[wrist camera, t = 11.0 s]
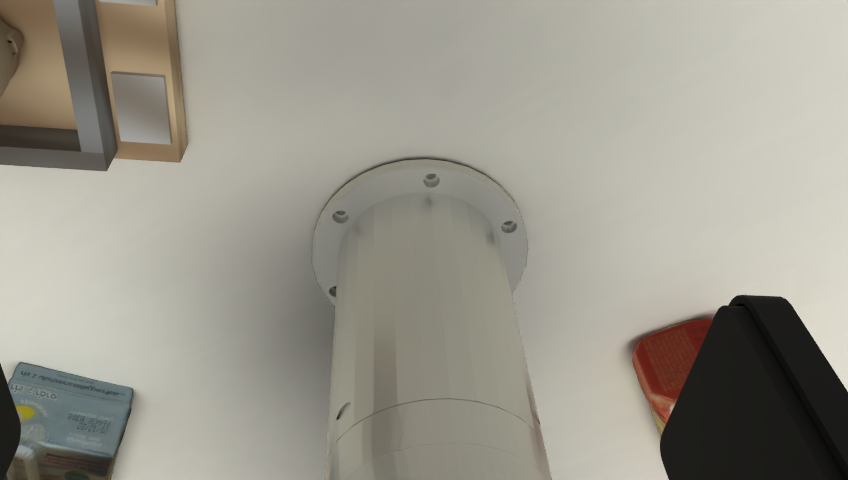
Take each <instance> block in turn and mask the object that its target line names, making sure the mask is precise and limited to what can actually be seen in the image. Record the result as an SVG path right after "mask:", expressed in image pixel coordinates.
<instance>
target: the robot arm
mask: <svg viewBox="0 0 848 480" xmlns="http://www.w3.org/2000/svg"><path fill="white" fill-rule="evenodd" d="M428 174H433V175H428ZM340 210H341V211H340ZM527 254H528V244H527V235H526V230H525V227H524V223H523V220H522V217H521V215H520V213H519V211H518V209H517V207H516V205H515V203H514V201H513V200H512V199H511V198H510V197H509V195H508V194H507V193H506V192H505V191H504V190H503V188H501V187H500V186H499V185H498V184H496V183H495V182H494V181H492V180H491V179H490V178H488V177H487V176H485V175H483V174H481V173H479V172H477V171H475V170H473V169H471V168H469V167H466V166H462V165H459V164H455V163H452V162H448V161H439V160H430V159H420V160H404V161H399V162H395V163H390V164H386V165H382V166H380V167H377V168H375V169H372V170H370V171H368V172H365V173H363V174H361V175H360V176H358V177H357V178H355V179H353V180H352V181H350V182H349V183H347V184H346V185H345V186H344V187H342V188H341V189H340V190H339V191H338V192H337V193H336V194H335V195H334V196H333V197H332V198H331V199H330V201H329V202H328V204H327V205H326V207H325V208H324V209H323V211H322V212H321V215H320V217H319V220H318V222H317V225H316V227H315V231H314V237H313V244H312V264H313V269H314V273H315V277H316V280H317V282H318V284H319V286H320V288H321V290H322V292H323V293H324V294H325V296H326V297H327V298H328V299H329V301H330V302H331V303H332V304H333V305H334V306H335V322H334V338H333V354H332V370H331V386H330V402H329V418H328V434H327V450H326V466H325V480H552V477H551V473H550V468H549V464H548V459H547V455H546V451H545V447H544V442H543V437H542V432H541V427H540V422H539V418H538V413H537V409H536V404H535V400H534V395H533V390H532V386H531V381H530V377H529V372H528V368H527V363H526V359H525V354H524V349H523V345H522V340H521V336H520V331H519V327H518V322H517V318H516V313H515V308H514V304H513V299H512V295H511V294H512V293H513V291H514V289H515V288H516V286H517V285H518V283H519V282H520V280H521V277H522V275H523V272H524V269H525V266H526V262H527ZM20 436H21V423H20V418H19V415H18V413H17V410H16V407H15V404H14V401H13V398H12V395H11V393H10V390H9V387H8V384H7V381H6V378H5V375H4V373H3V370H2V367H1V364H0V480H4V478H5V475H6V473H7V471H8V469H9V467H10V464H11V462H12V460H13V458H14V456H15V453H16V451H17V448H18V446H19V442H20ZM660 452H661V458H662V461H663V464H664V467H665V470H666V473H667V475H668V478H669V480H848V392H847V390H846V388H845V387H844V385H843V384H842V382H841V381H840V379H839V378H838V376H837V375H836V373H835V372H834V370H833V368H832V367H831V365H830V364H829V362H828V361H827V359H826V358H825V356H824V355H823V353H822V352H821V350H820V348H819V347H818V345H817V344H816V342H815V341H814V339H813V338H812V336H811V335H810V333H809V331H808V330H807V328H806V327H805V325H804V324H803V322H802V321H801V319H800V318H799V316H798V315H797V313H796V311H795V310H794V308H793V307H792V305H791V304H790V303H789V302H788V301H787V300H786V299H784V298H782V297H775V296H750V295H739V296H736V297H735V298H733V299H732V300H731V302H730V303H729V305H728V306H722V307H720V308H719V309H718V311H717V312H716V314H715V317H714V319H713V321H712V323H711V326H710V328H709V330H708V332H707V334H706V337H705V339H704V341H703V343H702V346H701V348H700V350H699V352H698V354H697V357H696V359H695V361H694V363H693V365H692V368H691V370H690V372H689V374H688V377H687V379H686V381H685V383H684V385H683V388H682V390H681V392H680V394H679V397H678V399H677V401H676V403H675V405H674V408H673V410H672V412H671V414H670V416H669V419H668V421H667V423H666V425H665V428H664V430H663V432H662V435H661V440H660Z"/></svg>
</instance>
